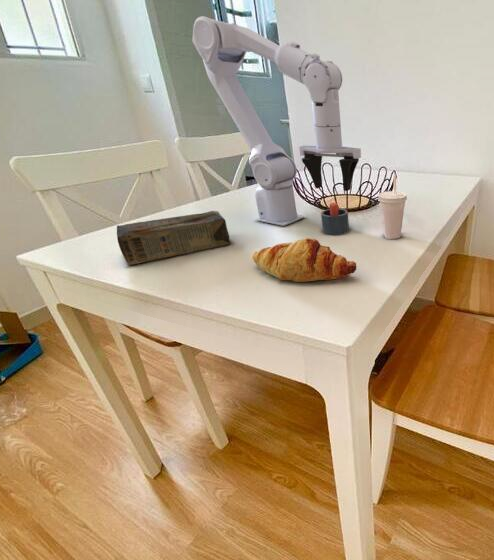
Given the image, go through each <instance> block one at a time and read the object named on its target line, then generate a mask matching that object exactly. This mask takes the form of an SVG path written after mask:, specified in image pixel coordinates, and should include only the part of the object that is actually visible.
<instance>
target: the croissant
mask: <svg viewBox="0 0 494 560" xmlns="http://www.w3.org/2000/svg"><path fill="white" fill-rule="evenodd" d="M252 261H253V262H254V263H255V264H256V265H257V266H258V267H259V268H260V270H262V271H263V272H265V273H267V274H268V275H270V276H273V277H275V278H277V279H279V281H291V282H297V283H308V282H316V281H331V280H337V279H338V280H339V279H343V278H345V277H347V276H349V275H351V274H354V273H355V272H356V270H357V263H356V262H355V261H353V260H351V261H350V260H347V258H346V257H345V256H344V255H341V254H337V253H335V252H333V250H332V249H331V248H330V246H326V245H322V244H321V243H320V242H319V240H317V239H316V238H312V237H305V238H302V239H297V240H295V241H294V242H282V243H281V242H280V243H277V244H275V245H274V246H273V245H272V246H269V247H263V248H261V249H260V250H259V251H254V252H253V254H252Z"/></svg>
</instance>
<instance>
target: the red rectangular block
mask: <svg viewBox="0 0 494 560" xmlns="http://www.w3.org/2000/svg"><path fill="white" fill-rule="evenodd" d="M329 209H330V216H338V215H339V210H338V209H339V203H337V202H331V203H329Z"/></svg>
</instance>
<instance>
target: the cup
mask: <svg viewBox="0 0 494 560" xmlns="http://www.w3.org/2000/svg"><path fill="white" fill-rule="evenodd" d="M338 210H339V215H338V216H330V208H328V209H325V210H322V211H321V212H320V217H321V227H322V232H323V233H324V234H325V235H330V236H338V235H344V234H346V233H348V232H349V231H350V226H349V225H350V224H349V212H348V210H347V209H344V208H338Z"/></svg>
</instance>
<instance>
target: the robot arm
mask: <svg viewBox="0 0 494 560" xmlns="http://www.w3.org/2000/svg"><path fill="white" fill-rule="evenodd" d="M192 27H193V28H192V43H193V45H194V48H195V49H196V51H197V52H198V54H199V56H200V57H201V59H202V62H203V66H204V68H205V72H206V75H207V77H208V79H209V82H210V83H211V85H212V86H213V88H214V90H215V91H216V93H217V96H219V98H220V100H221V102H222V104H223V105H224V108H226V110H227V112H228V114H229V115H230V117H231V119H232V121H233V123H234V124H235V126H236V127H237V129H238V130H239V132H240V134H241V136H242V138H243V139H244V141H245V143H246V145H247V146H248V148H249V150H250V151H251V154H250V155H249V156H250V157H249V159H248V164H249V166H250V168H251V170H252V174H253V177H254V179H255V181H256V182H257V184H258V185H259V186H258V187H257V188H256V190H255V202H256V206H257V207H256V208H257V212H258V218H257V219H256V220H257V222H262V223H267V224H271V225H276V226H280V227H281V226H282V227H285V226H288V225H290V224H293V223H296V222H297V221H299V220H302V219H305V215H302V214H298V213H297V206H296V199H295V198H296V197H295V192H294V185H293V184H294V183H295V182H294V179H295V178H296V176H297V173H298V170H297V165H296V163H295V161H294V160H293V158H292V157H290V156H289V155H288V154H287V153H286V151H285V149H284V148H283V147H282V146H280V145H278V144H276V143H275V142H274V141H273V140H272V138H271V136H270V134H269V132H268V130H267V129H266V127H265V125H264V124H263V122H262V120H261V119H260V117H259V115H258V113H257V112H256V110H255V108H254V106H253V105H252V103H251V101H250V99H249V97H248V96H247V94H246V92H245V91H244V89H243V86H241V83H240V81H239V79H238V77H237V73H238V72H239V71H240V69H241V66H242V64H243V62H244V59H245V57H246V55H247V53H253V54H256V55H257V56H260V57H261V58H264V59H267V60H268V61H271V62H273V63H275V64H276V68H277V70H278V71H279V72H280V73H281V74H282V75H285V76H287V77H289V78H291V79H292V80H294V81H297V82H298V83H301V84H302V85H304V86H305V87H306V89H307V90H308V92H309V96H310V100H311V107H312V118H313V124H314V125H313V127H314V138H315V139H314V140H315V145H301V146H298V148H299V155H300V156H303V157H302V158H301V162H302V164H303V166H305V168H306V169H307V171H308V173H309V175H310V177H311V180H312V182H313V185H314V188H315V189H320V188H322V187H323V177H322V163H323V162H322V161H323V157H327V158H328V157H330V158H341V159H339V160H338V161H339V162H338V163H339V165H340V169H341V175H342V186H343V190H344V192H348V191H350V190H351V189H352V181H353V176H354V174H355V170H356V168H357V166H358V163H359V161H360V158H362V149H361V148H360V147H349V146H343V139H342V124H341V123H342V121H341V109H340V107H341V106H340V97H339V96H340V95H339V91H340V88H342V85H343V74H342V71H341V68H339V67H338V65H337V64H335V63H334V62H333V61H331V60H326V61H323V60H321V59H320V58H321V56H320V55H319V54H317V53H309V52H307V51H305V50H303V49H302V48H301V45H300V43H297V42H294V41H290V43H289V42H285V43H282V44H281V45H279V44H277V43H275V42H273V41H272V40H270V39H269V38H267V37H264V36H263V35H261V34H259V33H257V32H256V31H254V30H252V29H250V28H248V27H245V26H241V25H238V24H237V23H229V22H225V21H222V20H217V19H212V18H210V17H208V16H204V15H202V16H198V17H197V18H196V19H195V21H194V23H193V26H192Z"/></svg>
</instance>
